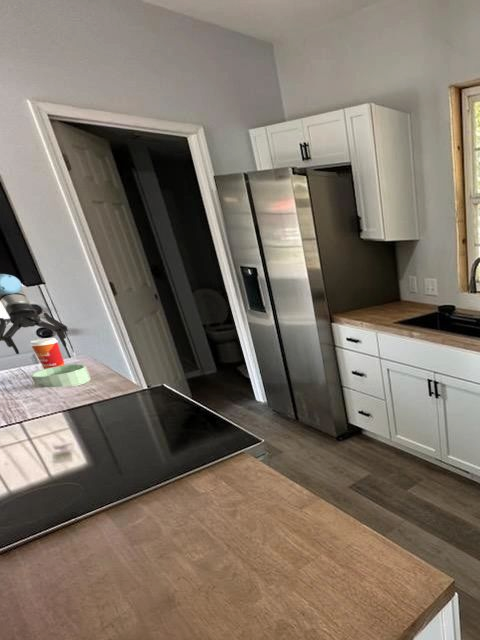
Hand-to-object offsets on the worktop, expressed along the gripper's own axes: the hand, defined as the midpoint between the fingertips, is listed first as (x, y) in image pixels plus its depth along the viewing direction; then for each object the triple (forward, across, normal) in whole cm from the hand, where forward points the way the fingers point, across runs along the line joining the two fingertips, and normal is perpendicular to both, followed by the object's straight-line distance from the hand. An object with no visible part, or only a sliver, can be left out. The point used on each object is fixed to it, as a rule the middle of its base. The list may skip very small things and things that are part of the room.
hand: (41, 348), depth 170 cm
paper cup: (+14, 0, 0) cm, 14 cm away
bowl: (+28, +1, +14) cm, 31 cm away
